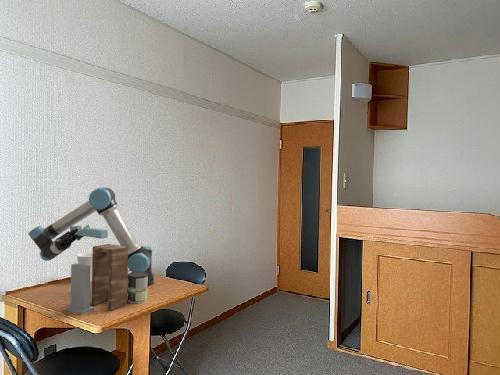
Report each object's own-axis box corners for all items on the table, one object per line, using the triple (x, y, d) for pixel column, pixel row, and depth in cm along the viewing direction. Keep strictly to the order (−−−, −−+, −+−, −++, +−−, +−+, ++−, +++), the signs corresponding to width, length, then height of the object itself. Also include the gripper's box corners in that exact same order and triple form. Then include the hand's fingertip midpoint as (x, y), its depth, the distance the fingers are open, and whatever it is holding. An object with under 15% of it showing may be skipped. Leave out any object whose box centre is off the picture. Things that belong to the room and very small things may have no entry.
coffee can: (125, 303, 193) (125, 276, 193) (129, 297, 204) (130, 271, 203) (145, 303, 194) (146, 276, 194) (149, 297, 205) (149, 271, 204)
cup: (72, 281, 229) (72, 255, 229) (84, 276, 241) (85, 252, 240) (89, 283, 226) (89, 257, 226) (100, 278, 238) (101, 253, 238)
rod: (69, 234, 198) (70, 226, 198) (76, 233, 201) (76, 225, 201) (101, 238, 186) (101, 230, 186) (107, 237, 190) (107, 229, 190)
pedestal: (65, 309, 181) (66, 264, 181) (77, 305, 187) (78, 262, 187) (81, 314, 176) (82, 268, 175) (94, 310, 182) (95, 265, 181)
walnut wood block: (91, 305, 188) (92, 246, 187) (107, 300, 197) (108, 243, 196) (111, 311, 182) (112, 249, 181) (126, 305, 190) (128, 246, 190)
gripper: (76, 248, 211) (102, 231, 201) (48, 253, 196) (73, 234, 186) (72, 236, 213) (97, 218, 203) (44, 240, 198) (69, 221, 188)
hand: (86, 226), depth 195 cm, fingers closed on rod, 4 cm apart
